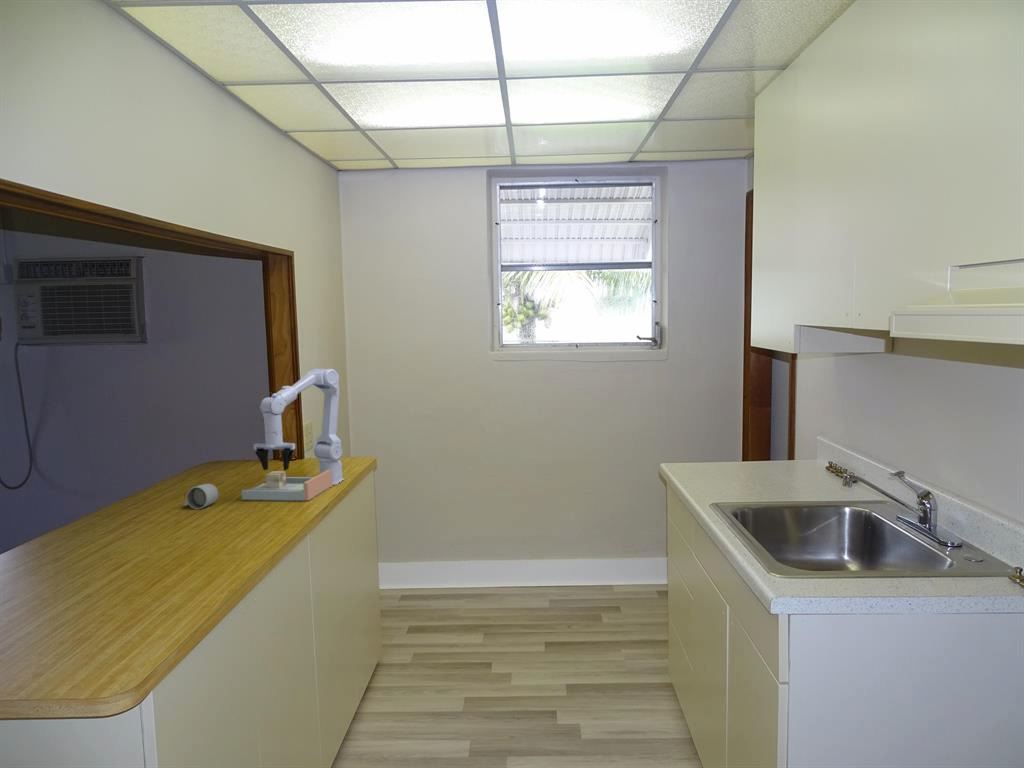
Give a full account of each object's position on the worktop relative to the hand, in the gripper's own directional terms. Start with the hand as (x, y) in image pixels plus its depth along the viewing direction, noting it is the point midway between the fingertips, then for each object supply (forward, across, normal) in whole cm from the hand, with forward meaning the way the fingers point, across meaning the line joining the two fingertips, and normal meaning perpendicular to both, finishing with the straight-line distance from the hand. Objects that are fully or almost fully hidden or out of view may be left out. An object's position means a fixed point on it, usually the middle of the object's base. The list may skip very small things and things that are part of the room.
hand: (275, 469), depth 240 cm
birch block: (+8, -4, +6) cm, 11 cm away
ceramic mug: (+10, -22, -11) cm, 27 cm away
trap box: (+10, +1, +6) cm, 12 cm away
